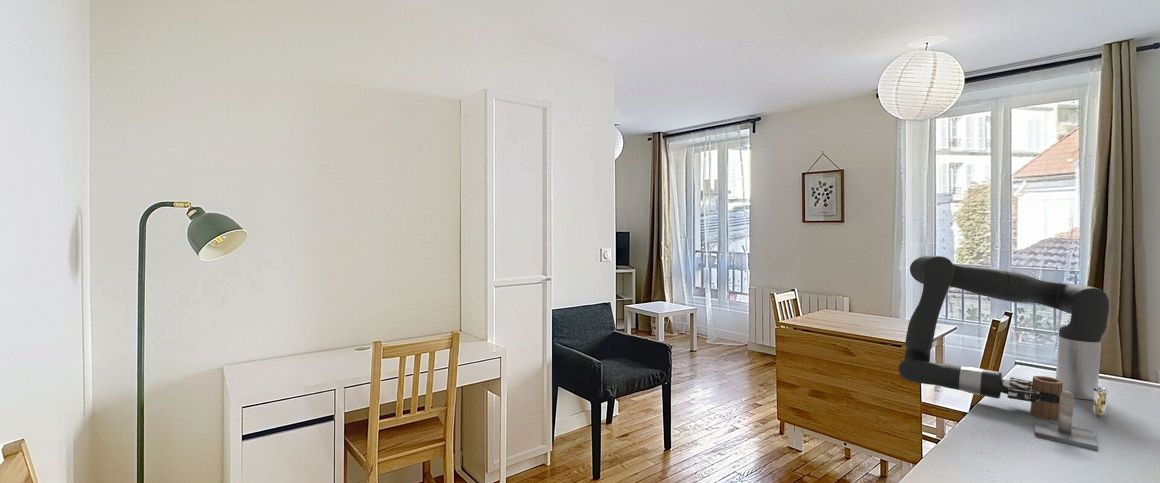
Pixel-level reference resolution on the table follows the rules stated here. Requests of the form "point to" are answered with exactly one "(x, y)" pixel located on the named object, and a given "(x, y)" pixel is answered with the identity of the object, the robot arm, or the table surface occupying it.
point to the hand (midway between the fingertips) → (1058, 396)
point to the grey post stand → (1066, 426)
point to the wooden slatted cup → (1042, 407)
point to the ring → (1100, 400)
